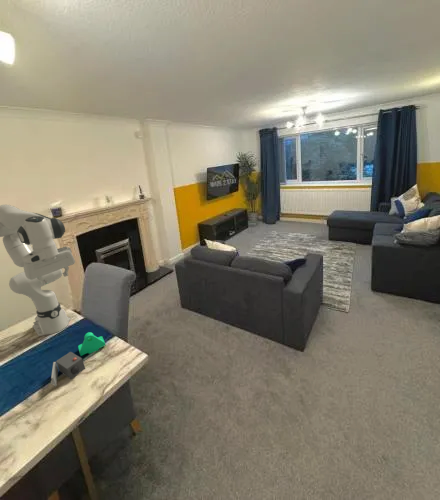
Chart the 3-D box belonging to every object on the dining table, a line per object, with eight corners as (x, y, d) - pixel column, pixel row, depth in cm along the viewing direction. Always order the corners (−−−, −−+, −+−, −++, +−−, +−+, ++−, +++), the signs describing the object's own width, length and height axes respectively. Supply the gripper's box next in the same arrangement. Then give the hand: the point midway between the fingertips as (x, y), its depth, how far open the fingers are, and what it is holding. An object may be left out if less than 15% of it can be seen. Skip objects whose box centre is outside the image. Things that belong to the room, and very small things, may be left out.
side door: (55, 370, 122) (51, 362, 121) (58, 369, 123) (55, 361, 121) (52, 387, 113) (49, 379, 111) (56, 386, 114) (53, 377, 112)
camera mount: (103, 339, 143) (98, 323, 139) (106, 347, 137) (101, 330, 133) (79, 349, 137) (73, 333, 133) (81, 357, 131) (75, 341, 127)
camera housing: (59, 371, 123) (55, 360, 121) (74, 361, 128) (70, 350, 126) (72, 380, 117) (67, 368, 115) (86, 369, 123) (82, 358, 120)
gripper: (66, 244, 127) (74, 270, 131) (18, 259, 111) (29, 288, 116) (72, 245, 123) (80, 272, 128) (23, 261, 108) (35, 290, 112)
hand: (55, 279), depth 122 cm, fingers open, 8 cm apart
